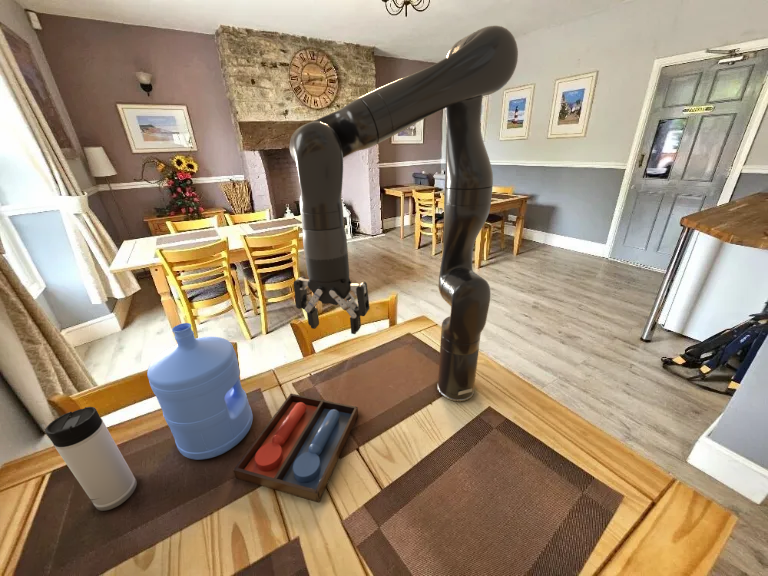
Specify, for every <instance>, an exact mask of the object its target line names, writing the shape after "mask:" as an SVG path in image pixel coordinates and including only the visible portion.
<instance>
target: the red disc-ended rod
mask: <svg viewBox="0 0 768 576" xmlns="http://www.w3.org/2000/svg"><path fill="white" fill-rule="evenodd" d="M305 411H306V405H305V404H304V403H303V402H299V403H297V404H296V405H295V406H294V408H293V409H292V411H291V412H290V413H289V415H288V416H287V418H286V419H285V421H284V422H283V423H282V425H281V426H280V428H279V429H278V431H277V432H276V433H275V435H274V436H273V438H272V443H268V444H265V445H263V446H262V447H261V448H259V450H258V451H257V452H256V455H255V462H256V465H257V468H258V469H259V470H261V471H271V470H273V469H275V468H276V467H277V466H278V465H279V464H280V463H281V461H282V459H283V453H282V448H281V446H282V445H284V443H285V442H286V440H287V439H288V437H289V436H290V434H291V432H292V431H293V429H294V428H295V426H296V425H297V423H298V422H299V420H300V419H301V417H302V416H303V414H304V412H305Z"/></svg>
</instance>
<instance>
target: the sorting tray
mask: <svg viewBox="0 0 768 576" xmlns="http://www.w3.org/2000/svg"><path fill="white" fill-rule="evenodd" d="M299 402H303V403H304V404H305V405H306V411H305V412H304V414H303V416H302V417H301V419H300V420H299V422H298V423H297V425H296V426H295V428H294V429H293V431H292V432H291V434H290V436H289V437H288V439H287V440H286V442H285V443H284V445H282V446H281V448H282V453H283V459H282V461H281V463H280V464H279V465H278V466H277V467H276V468H275V469H273V470H271V471H261V470H259V469H258V468H257V465H256V462H255V455H256V452H257V451H258V450H259V448H261V447H262V446H263V445H265V444H268V443H272V438H273V436H274V435H275V433H276V432H277V431H278V429H279V428H280V426H281V425H282V423H283V422H284V421H285V419H286V418H287V416H288V415H289V413H290V412H291V411H292V409H293V408H294V406H295V405H296V404H297V403H299ZM332 409H335V410H337V411H338V412H339V419H338V421H337V423H336V425H335V427H334V429H333V431H332V433H331V435H330V436H329V438H328V440H327V442H326V444H325V446H324V448H323V450H322V452H321V454H320V455H319V456H318V457H319V459H320V464H321V470H320V473H319V475H318V476H317V477H316V478H315V479H314V480H312V481H310V482H307V483H302V482H299V481H298V480H297V479H296V478H295V476H294V472H293V464H294V462H295V460H296V459H297V457H299V456H300V455H301V454H303V453H307V452H309V446H310V444H311V442H312V441H313V439H314V437H315V435H316V433H317V432H318V430H319V428H320V426H321V425H322V423H323V421H324V419H325V417H326V416H327V414H328V412H329V411H330V410H332ZM358 417H359V407H358V406H356V405H351V404H345V403H340V402H336V401H330V400H326V399H321V398H316V397H311V396H306V395H301V394H295V393H290V394H289V395H288V396H287V398H286V399H285V401H284V402H283V403H282V404H281V406H280V407H279V408H278V410H277V411H276V413H274V415H273V416H272V417H271V419H270V420H269V422H268V423H267V424H266V425H265V427H264V428H263V429H262V431H261V432H260V434H258V436H257V437H256V439H255V440H254V441H253V442H252V444H251V445H250V446H249V448H248V449H247V450H246V452H245V453H244V455H243V456H242V457H241V459H240V460H239V461H238V462H237V463H236V465H235V467H234V468H233V469H232V470H233V474H234V476H235V479H236V480H241V481H244V482H248V483H250V484H251V483H252V484H254V485H257V486H261V487H265V488H268V489H271V490H275V491H278V492H281V493H285V494H287V495H291V496H294V497H299V498H302V499H305V500H307V501H311V502H315V503H320V501H321V499H322V497H323V495H324V492H325V490H326V488H327V486H328V484H329V481H330V479H331V477H332V475H333V472H334V470H335V468H336V465H337V463H338V461H339V459H340V456H341V455H342V452H343V450H344V448H345V446H346V443H347V441H348V439H349V437H350V434H351V432H352V430H353V428H354V425H355V424H356V422H357V419H358Z"/></svg>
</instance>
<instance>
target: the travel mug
mask: <svg viewBox="0 0 768 576" xmlns="http://www.w3.org/2000/svg"><path fill="white" fill-rule="evenodd" d="M44 432H45V434H46V435H47V437H48V439H49V440H50V441H51V443H52V445H53V447H54V448H55V449H56V451H57V453H58V454H59V456H60V457H61V458H62V460H63V461H64V463H65V465H66V466H67V467H68V469H69V470H70V472H71V473H72V474H73V476H74V477H75V479H76V481H77V482H78V483H79V485H80V487H81V488H82V489H83V491H84V492H85V494H86V496H87V497H88V498H89V500H90V501H91V503H92V504H93V506H94V507H95V508H96V510H98V511H101V512H103V511H104V512H105V511H110V510H112V509H115V508H117V507H119V506H120V505H122V504H124V502H126V501H127V500H128V499H129V498H130V497H131V496H132V495H133V493H134V492H135V490H136V488H137V486H138V485H137V484H138V483H137V479H136V477H135V476H134V474H133V472H132V469H131V468H130V467H129V465H128V463H127V461H126V460H125V458H124V456H123V454H122V453H121V451H120V449H119V446H118V445H117V443H116V442H115V439H114V438H113V436H112V435H111V433H110V431H109V429H108V427H107V425H106V423H105V422H104V420H103V419H102V417H101V416H100V414H99V412H98V411H97V409H96V407H95V406H85V407H84V408H80V409H76V410H74V411H69V412H66V413H64V414H62V415H60V416H58V417H56V418H55V419H54V420H52V421H51V422H50V423H49V424H47V426H46V427H45V429H44Z"/></svg>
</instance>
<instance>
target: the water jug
mask: <svg viewBox="0 0 768 576" xmlns="http://www.w3.org/2000/svg"><path fill="white" fill-rule="evenodd" d="M171 332H172V333H173V334H174V339H175V341H176V343H177V344H175V345H173V346H171V347H169V348H168V349H166V350H164V351H162V352H161V353H160V354H159V355H157V356H156V357H155V358H154V359H153V361H151V363H150V364H149V365H148V368H147V371H146V373H147V379H148V383H149V386H150V388H151V390H152V392H153V394H154V395H155V397H156V400H157V402H158V404H159V406H160V409H161V411H162V415H163V418H164V420H165V422H166V425H167V426H168V427H169V429H170V431H171V434H172V436H173V439H174V442H175V445H176V449H177V450H178V452H179V453H180V454H181V455H182V456H183V457H185V458H187V459H190V460H196V461H197V460H198V461H199V460H201V461H203V460H208V459H212V458H216V457H218V456H221V455H223V454H225V453H227V452H229V451H231V450H232V449H233V448H235V447H236V446H237V445H238V444H240V442H241V441H243V440H244V438H245V437H246V436H247V434H249V431H250V430H251V427H252V425H253V419H254V415H253V411H252V408H251V405H250V403H249V399H248V395H247V393H246V391H245V390H244V388H243V386H242V383H241V379H240V374H241V370H240V366H239V360H238V357H237V352H236V350H235V348H234V345H233V344H232V342H231V341H229V340H228V339H226V338H224V337H219V336H202V337H195V333H194V330H192V324H191V323H189V322H183V323H179V324H177V325H175V326H174V327H172V329H171Z"/></svg>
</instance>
